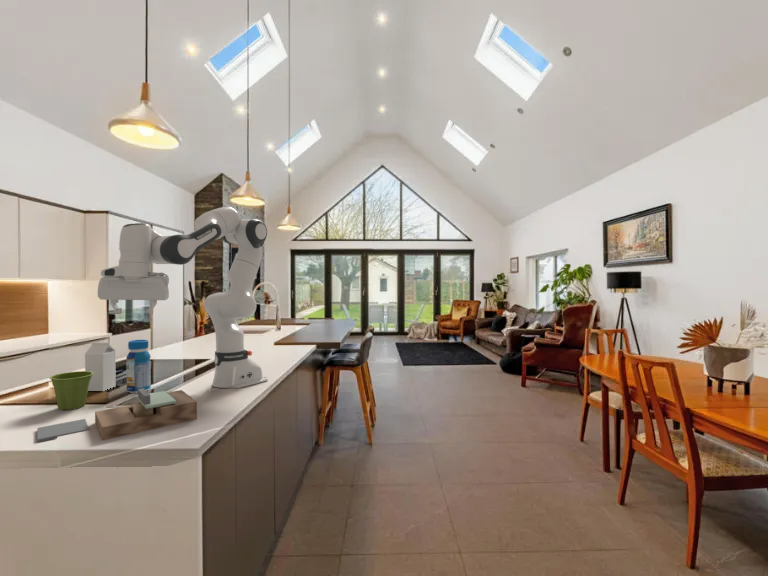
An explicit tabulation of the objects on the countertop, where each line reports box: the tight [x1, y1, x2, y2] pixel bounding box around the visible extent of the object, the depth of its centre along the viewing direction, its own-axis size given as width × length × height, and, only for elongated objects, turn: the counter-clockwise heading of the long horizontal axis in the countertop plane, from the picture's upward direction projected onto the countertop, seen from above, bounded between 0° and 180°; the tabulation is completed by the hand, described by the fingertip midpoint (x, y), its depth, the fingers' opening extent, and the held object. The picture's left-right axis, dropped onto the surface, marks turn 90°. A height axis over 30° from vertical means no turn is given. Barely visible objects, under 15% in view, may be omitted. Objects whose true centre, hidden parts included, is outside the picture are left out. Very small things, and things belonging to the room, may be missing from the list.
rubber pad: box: [37, 418, 90, 443], centre depth 111 cm, size 11×11×1 cm
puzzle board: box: [94, 389, 198, 441], centre depth 117 cm, size 24×17×6 cm
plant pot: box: [48, 370, 93, 411], centre depth 132 cm, size 12×12×11 cm
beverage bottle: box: [125, 339, 152, 394], centre depth 152 cm, size 8×8×20 cm
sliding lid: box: [136, 388, 176, 409], centre depth 119 cm, size 8×14×3 cm, turn 43°
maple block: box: [132, 402, 153, 418], centre depth 117 cm, size 4×4×6 cm
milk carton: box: [84, 342, 117, 392], centre depth 153 cm, size 7×7×19 cm
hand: (133, 314), depth 125 cm, fingers open, 8 cm apart
